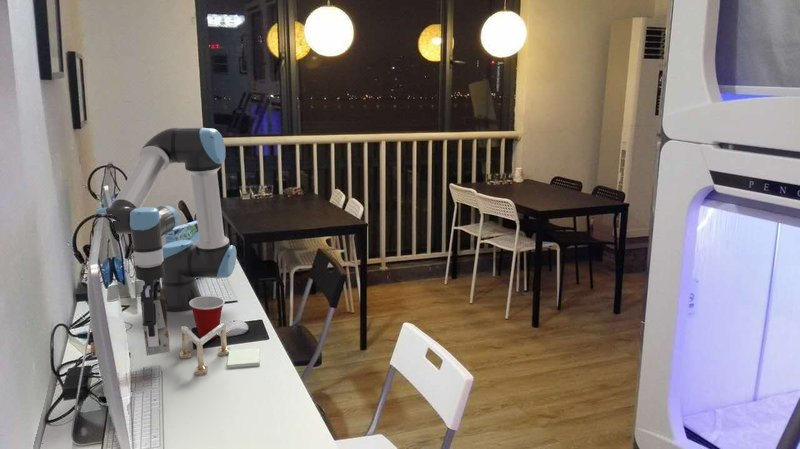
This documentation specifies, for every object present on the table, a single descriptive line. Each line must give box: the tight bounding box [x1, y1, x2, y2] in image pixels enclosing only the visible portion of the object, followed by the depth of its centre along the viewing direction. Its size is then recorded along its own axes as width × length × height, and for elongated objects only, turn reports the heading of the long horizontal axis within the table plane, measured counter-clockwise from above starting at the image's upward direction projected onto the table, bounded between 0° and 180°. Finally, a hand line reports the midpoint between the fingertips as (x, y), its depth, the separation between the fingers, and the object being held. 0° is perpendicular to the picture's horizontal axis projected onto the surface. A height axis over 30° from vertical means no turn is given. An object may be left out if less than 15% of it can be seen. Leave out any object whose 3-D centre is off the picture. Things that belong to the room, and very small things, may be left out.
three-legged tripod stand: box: [179, 322, 231, 376], centre depth 183 cm, size 15×14×9 cm
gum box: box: [164, 220, 199, 245], centre depth 259 cm, size 20×5×23 cm, turn 159°
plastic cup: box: [189, 295, 225, 340], centre depth 202 cm, size 11×11×12 cm
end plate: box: [226, 347, 261, 369], centre depth 187 cm, size 10×9×1 cm
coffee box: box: [140, 289, 171, 356], centre depth 180 cm, size 9×6×16 cm
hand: (156, 338), depth 182 cm, fingers closed on coffee box, 10 cm apart
